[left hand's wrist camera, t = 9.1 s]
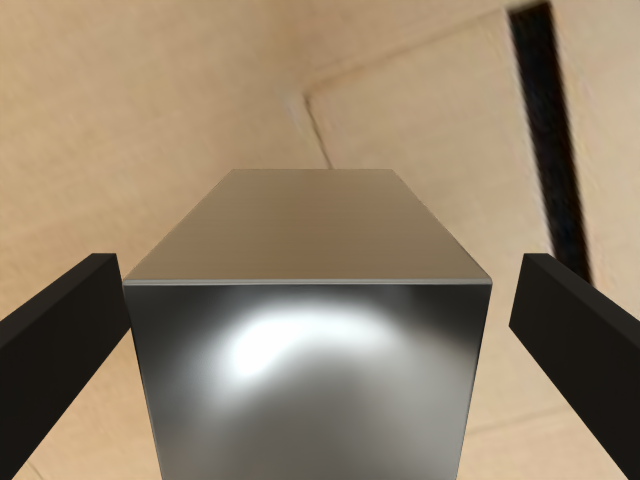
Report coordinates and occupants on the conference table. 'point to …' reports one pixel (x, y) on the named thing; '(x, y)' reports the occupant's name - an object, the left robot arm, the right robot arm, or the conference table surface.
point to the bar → (308, 332)
